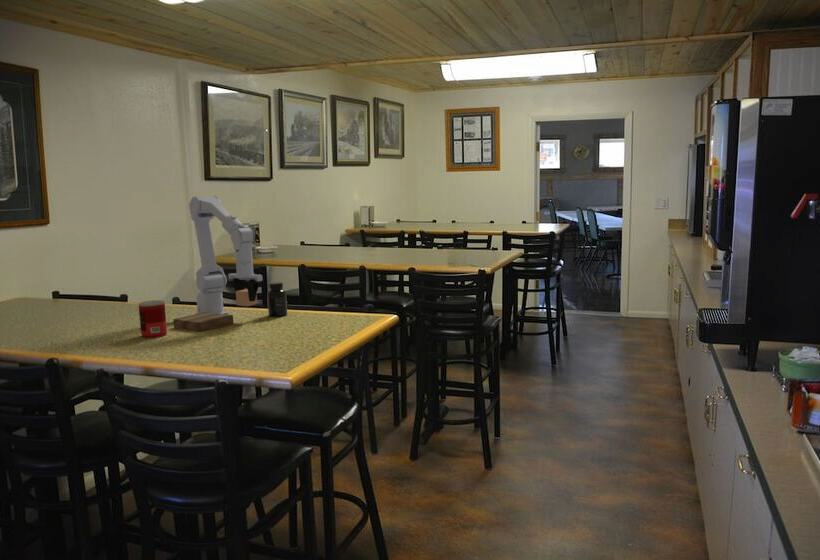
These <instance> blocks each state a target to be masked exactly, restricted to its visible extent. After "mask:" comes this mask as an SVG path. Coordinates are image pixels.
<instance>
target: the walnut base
mask: <svg viewBox="0 0 820 560" xmlns="http://www.w3.org/2000/svg"><path fill="white" fill-rule="evenodd" d="M172 321H173V322H172V323H173V328H174V329H180V330H186V331H187V330H189V331H194V332H205V331H209V330H214V329H217V328H222V327H225V326H230V325H233V324H234V315H233V314H228V313H227V314H218V313H209V312H203V313H199V314H196V313H195V314H190V315H187V316H186V315H185V316H180V317H178V318H172Z"/></svg>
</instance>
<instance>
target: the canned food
mask: <svg viewBox="0 0 820 560" xmlns="http://www.w3.org/2000/svg"><path fill="white" fill-rule="evenodd" d="M138 314H139V325H140V335H141V337H142V338H143V337H144V339H155V338H156V339H157V338H160V337H164V336H166V335H167V333H168V330H167V317H166V303H165V301H164V300H161V299H160V300H159V299H157V300H155V299H154V300H146V301H141V302H138Z"/></svg>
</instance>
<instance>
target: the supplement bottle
mask: <svg viewBox="0 0 820 560" xmlns="http://www.w3.org/2000/svg"><path fill="white" fill-rule="evenodd" d="M268 284H269V287H268V288H269V290H268V291H267V292H266V293H267V296H266V297H267V308H268V309H267V310H268V312H267V313H268V316H269V317H273V318H279V317H285V316H287V315H288V304H287V292H286V290H285V289H284V285H283V282H281V281H279V282H270V283H268Z"/></svg>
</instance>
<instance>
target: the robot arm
mask: <svg viewBox="0 0 820 560" xmlns="http://www.w3.org/2000/svg"><path fill="white" fill-rule="evenodd" d="M188 206H189V212H190V213H189V214H190V218H191V220H192V221H193V222H194V229H195V234H196V239H197V240H196V241H197V246H198V251H199V257H200V262H201V267H199V269H198V270H197V271H196V273H195V274H196V275H195V276H196V279H195V280H196V281H195V284H196V287H197V290H199V292H198V293H197V296H196V306H197V307H196V308H197V313H195V314H199V313H203V312H209V313H218V314H227V315H228V314H229V311H224V301H223V300H224V299H223V291H224V290H225V289H224V288H225V287H226V286H227V282H228V281H227V276H226V275H225V272H224V268H222V266H220V265H219V264H217V260H216V256H215V255H216V254H215V249H214V243H213V238H212V233H211V227H210V222H211V220H213V219H215V218H217V219H218V220H219V221H220V222H221V226H222V228H223V229H224V230H225V231H226V232H227V234H229V235H230V241H231V243H232V247H233V249H234V251H235V254H234V255H235V267H236V272H235V273H234V272H233V273H232V272H231V273H228V279H229V280H231V281H230V285H231V286H232V287H233V290H234V292H235V293H236V291H239V290H244V289H245V287H246V289H248V294H249V300H250V301H255V299H256V294H257V295H258V293H257V292H258V290H259V287H260V285H261V283H262V282H263V280H264V279H263V275H262V274H261V275H260V274H256V273H254V262H253V245H252V244H253V243H254V241H255V239H256V238H255V237H256V236H255V235H256V234H255V231H254V229H253V228H252V227H251V226H246V225H244V224H243V222H241V221H240V220H239V219H238V217H237V216H236V215H232V214H229V213H228V212H227V210H226V209H225V208H224V207H223V205H222V200H221V199H220V198H219V196H217V195H213V196H210V195H209V196H193V197H192V198H190V201H189V203H188Z"/></svg>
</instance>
